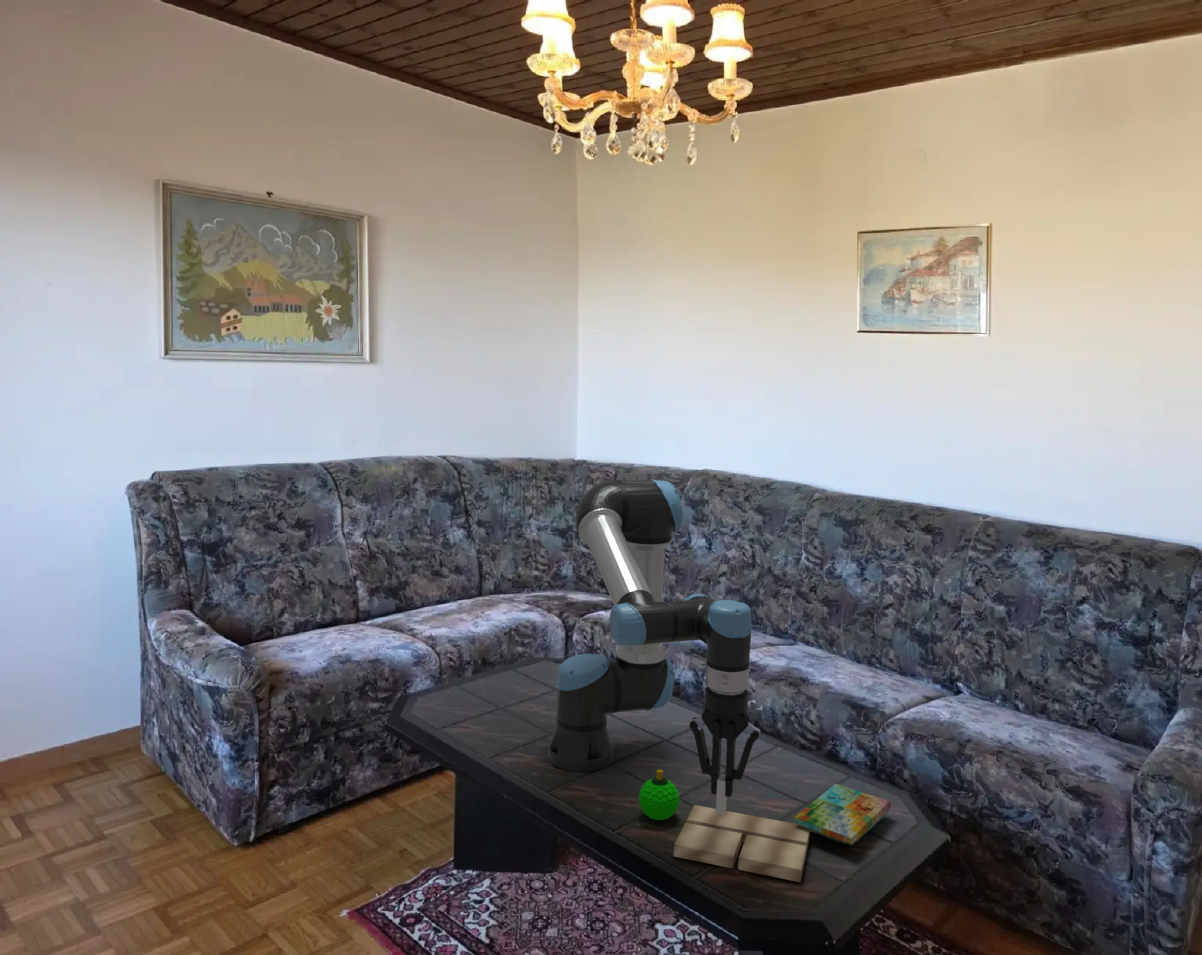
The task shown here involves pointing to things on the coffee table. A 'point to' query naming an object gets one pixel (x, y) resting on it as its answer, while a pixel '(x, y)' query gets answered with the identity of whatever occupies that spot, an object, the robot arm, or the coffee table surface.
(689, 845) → the plank
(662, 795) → the ornament
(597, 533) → the robot arm
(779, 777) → the coffee table surface
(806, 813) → the puzzle game
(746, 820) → the laid board
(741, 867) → the plank
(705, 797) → the coffee table surface
